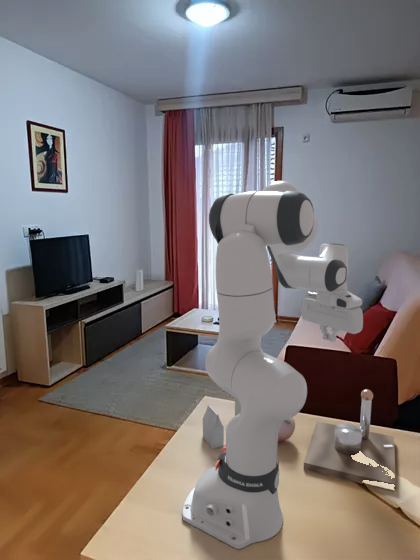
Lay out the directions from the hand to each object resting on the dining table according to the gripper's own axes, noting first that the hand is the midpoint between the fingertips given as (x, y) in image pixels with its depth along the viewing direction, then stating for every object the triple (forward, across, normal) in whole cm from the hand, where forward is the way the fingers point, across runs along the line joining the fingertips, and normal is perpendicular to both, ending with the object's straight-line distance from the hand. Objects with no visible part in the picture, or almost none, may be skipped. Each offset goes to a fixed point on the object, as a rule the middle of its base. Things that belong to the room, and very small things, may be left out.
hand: (329, 340), depth 126 cm
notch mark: (+25, +21, 0) cm, 33 cm away
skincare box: (+27, -17, -19) cm, 37 cm away
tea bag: (+27, -13, -35) cm, 47 cm away
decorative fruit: (+27, -2, -19) cm, 33 cm away
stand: (+27, +16, -9) cm, 33 cm away
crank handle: (+25, +15, -7) cm, 30 cm away
